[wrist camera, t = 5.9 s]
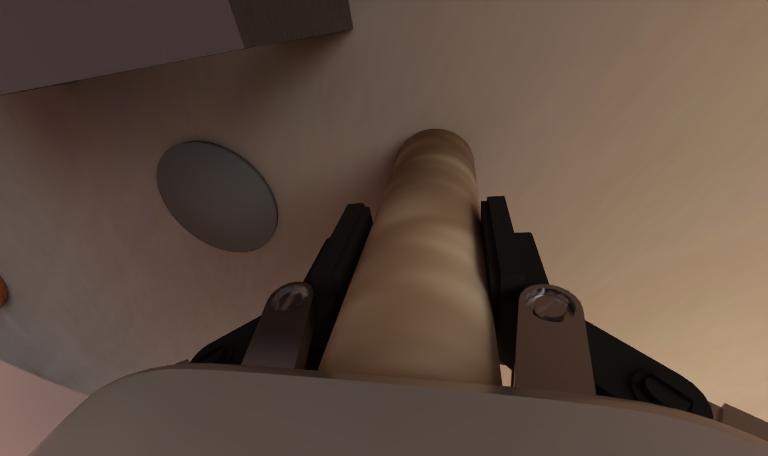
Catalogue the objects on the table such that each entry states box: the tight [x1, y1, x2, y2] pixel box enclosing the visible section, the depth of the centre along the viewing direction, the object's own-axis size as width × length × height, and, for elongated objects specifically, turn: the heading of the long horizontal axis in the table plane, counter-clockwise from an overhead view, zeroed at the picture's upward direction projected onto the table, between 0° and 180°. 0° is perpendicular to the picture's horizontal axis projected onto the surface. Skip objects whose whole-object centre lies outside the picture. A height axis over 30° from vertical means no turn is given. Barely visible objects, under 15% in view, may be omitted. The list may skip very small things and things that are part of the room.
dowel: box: [317, 129, 502, 386], centre depth 10 cm, size 4×4×16 cm
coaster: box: [157, 141, 278, 252], centre depth 21 cm, size 8×8×1 cm
